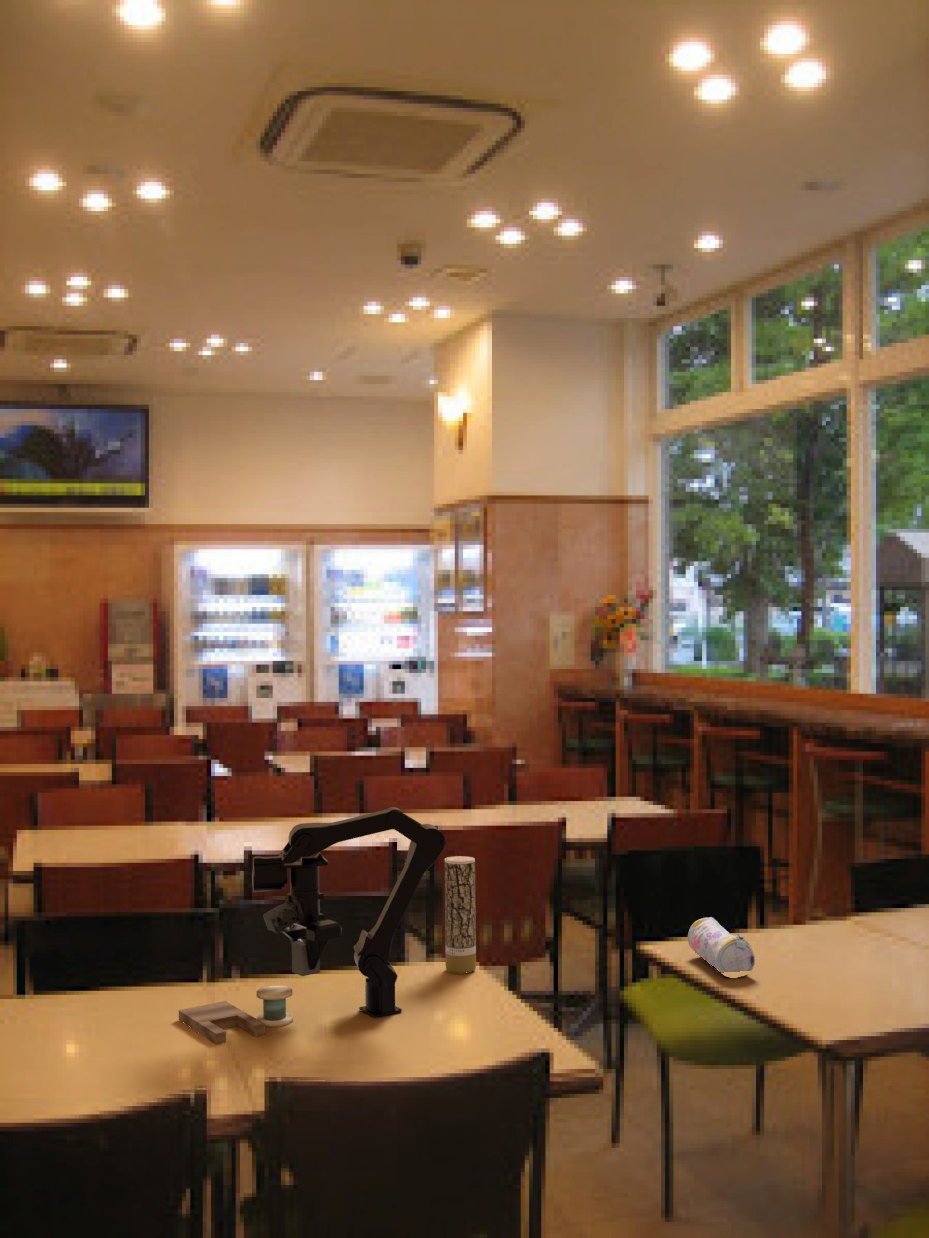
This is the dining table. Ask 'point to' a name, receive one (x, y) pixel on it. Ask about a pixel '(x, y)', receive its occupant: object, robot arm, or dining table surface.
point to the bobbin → (274, 1005)
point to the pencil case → (720, 946)
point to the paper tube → (460, 914)
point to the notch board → (219, 1020)
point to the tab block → (302, 960)
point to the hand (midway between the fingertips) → (306, 967)
